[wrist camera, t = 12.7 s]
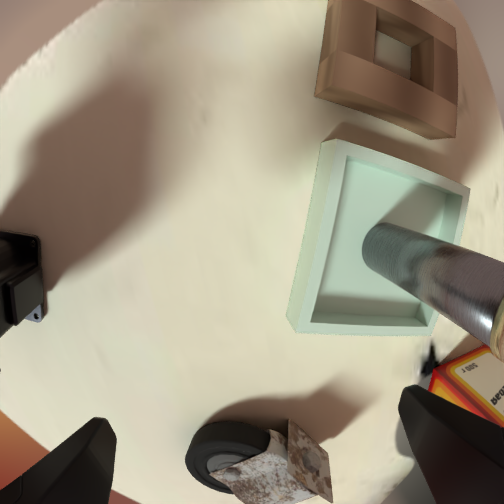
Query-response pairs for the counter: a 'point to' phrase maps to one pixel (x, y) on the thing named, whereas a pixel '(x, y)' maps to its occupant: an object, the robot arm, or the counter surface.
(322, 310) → the tray
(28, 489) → the robot arm
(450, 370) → the baking soda box
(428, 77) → the block
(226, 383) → the counter surface
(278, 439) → the caster wheel
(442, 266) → the pin
